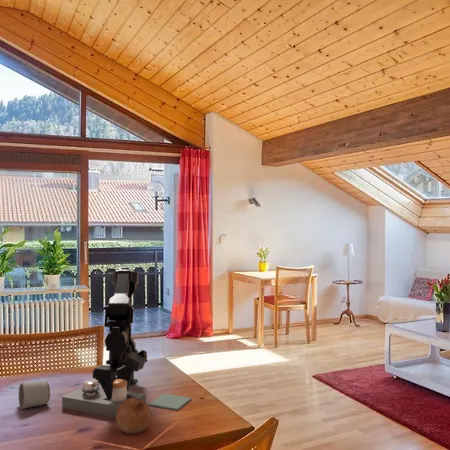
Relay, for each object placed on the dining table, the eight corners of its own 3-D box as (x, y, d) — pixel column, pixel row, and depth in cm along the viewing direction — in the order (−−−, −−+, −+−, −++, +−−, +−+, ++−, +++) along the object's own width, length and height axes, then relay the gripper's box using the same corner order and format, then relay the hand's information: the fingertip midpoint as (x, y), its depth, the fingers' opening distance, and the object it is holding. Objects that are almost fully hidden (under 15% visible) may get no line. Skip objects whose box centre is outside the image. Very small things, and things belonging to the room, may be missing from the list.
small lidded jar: (115, 405, 156) (115, 378, 156) (130, 407, 154) (130, 380, 154) (106, 410, 151) (106, 383, 151) (120, 413, 149) (121, 385, 149)
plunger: (88, 400, 160) (88, 379, 159) (102, 402, 158) (102, 381, 158) (78, 406, 155) (78, 384, 155) (92, 408, 153) (92, 386, 153)
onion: (143, 445, 136) (154, 417, 133) (109, 439, 134) (119, 410, 131) (145, 420, 145) (155, 393, 142) (113, 413, 143) (123, 385, 140)
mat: (163, 396, 165) (163, 393, 165) (191, 400, 161) (191, 397, 161) (148, 407, 156) (148, 404, 156) (177, 412, 152) (177, 408, 152)
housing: (86, 396, 164) (86, 384, 164) (145, 406, 156) (145, 393, 156) (62, 409, 153) (62, 396, 153) (124, 421, 145) (124, 407, 145)
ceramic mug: (51, 406, 155) (51, 381, 155) (23, 412, 151) (23, 386, 151) (41, 397, 164) (41, 373, 164) (15, 402, 159) (15, 377, 159)
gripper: (124, 353, 141) (124, 408, 141) (157, 338, 158) (156, 388, 158) (91, 349, 145) (91, 403, 145) (126, 335, 162) (126, 383, 162)
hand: (118, 394), depth 153 cm, fingers open, 9 cm apart
